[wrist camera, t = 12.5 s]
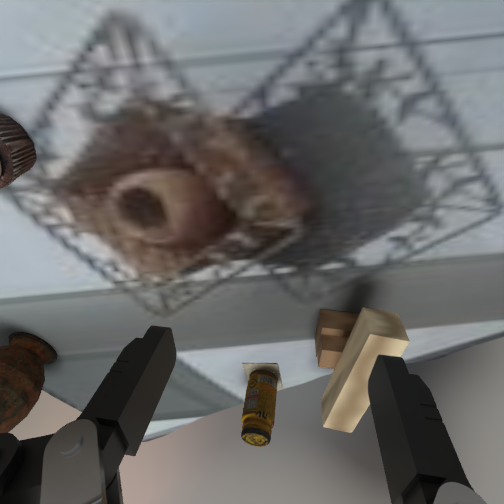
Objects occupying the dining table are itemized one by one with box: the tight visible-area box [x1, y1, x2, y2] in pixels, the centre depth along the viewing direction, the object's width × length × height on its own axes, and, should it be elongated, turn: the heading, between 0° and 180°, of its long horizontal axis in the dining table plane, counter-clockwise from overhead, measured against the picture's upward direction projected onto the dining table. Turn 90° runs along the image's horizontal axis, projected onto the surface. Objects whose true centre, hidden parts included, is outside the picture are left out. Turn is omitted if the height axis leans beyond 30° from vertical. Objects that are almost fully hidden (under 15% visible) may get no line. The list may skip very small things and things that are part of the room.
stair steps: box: [315, 310, 359, 369], centre depth 45 cm, size 10×7×7 cm
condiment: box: [241, 363, 283, 447], centre depth 53 cm, size 7×8×12 cm
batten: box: [321, 307, 410, 433], centre depth 40 cm, size 4×22×4 cm, turn 174°
